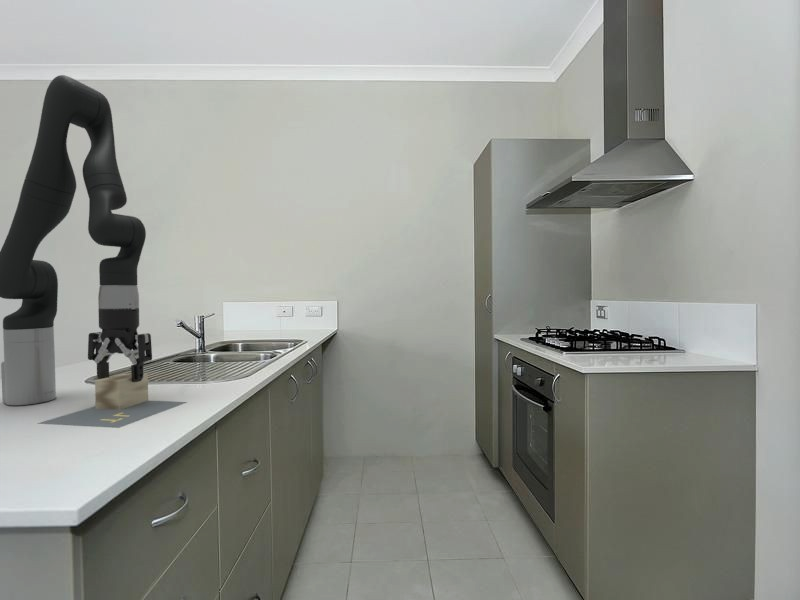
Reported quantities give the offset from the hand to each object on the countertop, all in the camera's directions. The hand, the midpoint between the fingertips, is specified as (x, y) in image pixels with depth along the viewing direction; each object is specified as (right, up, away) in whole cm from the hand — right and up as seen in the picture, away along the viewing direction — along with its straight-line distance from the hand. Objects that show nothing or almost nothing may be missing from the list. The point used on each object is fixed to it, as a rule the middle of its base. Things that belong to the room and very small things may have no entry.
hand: (120, 380), depth 99 cm
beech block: (0, -5, 0) cm, 5 cm away
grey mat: (+3, -6, -6) cm, 9 cm away
